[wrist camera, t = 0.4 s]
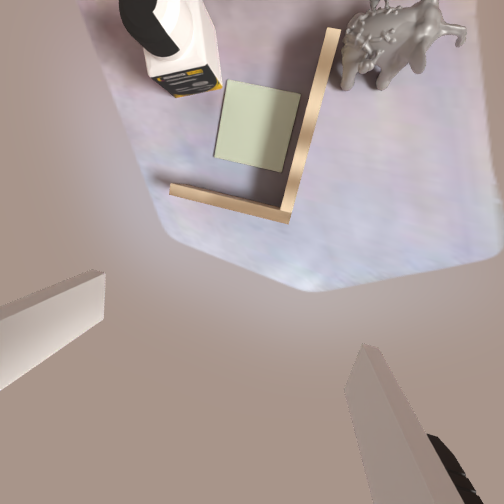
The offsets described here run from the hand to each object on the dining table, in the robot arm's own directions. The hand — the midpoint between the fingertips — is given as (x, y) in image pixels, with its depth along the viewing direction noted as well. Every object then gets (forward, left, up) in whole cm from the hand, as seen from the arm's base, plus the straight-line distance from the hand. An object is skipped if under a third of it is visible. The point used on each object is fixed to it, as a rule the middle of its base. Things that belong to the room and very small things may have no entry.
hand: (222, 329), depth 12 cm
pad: (-14, -5, -26) cm, 30 cm away
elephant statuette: (-25, +9, -27) cm, 38 cm away
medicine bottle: (-20, -15, -27) cm, 37 cm away
